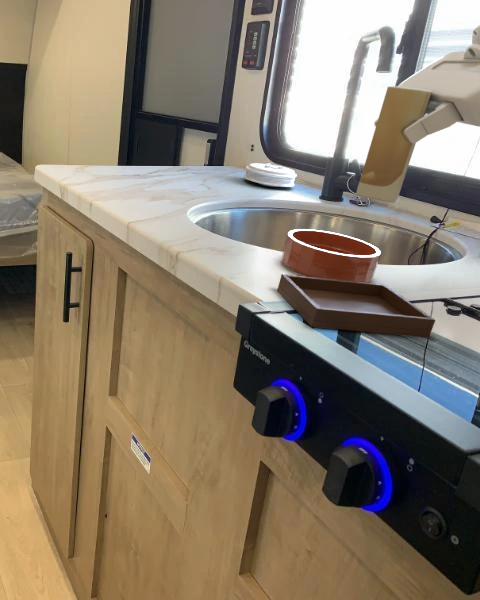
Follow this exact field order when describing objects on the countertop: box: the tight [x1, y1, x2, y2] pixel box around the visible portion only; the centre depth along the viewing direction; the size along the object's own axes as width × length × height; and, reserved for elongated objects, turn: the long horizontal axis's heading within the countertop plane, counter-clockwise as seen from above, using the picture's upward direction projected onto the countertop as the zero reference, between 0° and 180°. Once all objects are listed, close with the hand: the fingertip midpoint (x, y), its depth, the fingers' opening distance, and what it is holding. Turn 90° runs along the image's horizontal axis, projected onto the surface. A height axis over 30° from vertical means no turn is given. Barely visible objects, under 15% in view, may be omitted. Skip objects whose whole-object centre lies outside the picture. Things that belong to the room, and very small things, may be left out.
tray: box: [277, 273, 436, 339], centre depth 73 cm, size 14×11×2 cm
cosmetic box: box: [355, 85, 432, 204], centre depth 68 cm, size 6×4×12 cm
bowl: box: [281, 228, 382, 283], centre depth 88 cm, size 13×13×4 cm
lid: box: [243, 162, 298, 188], centre depth 152 cm, size 13×13×5 cm
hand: (391, 133), depth 68 cm, fingers closed on cosmetic box, 7 cm apart
